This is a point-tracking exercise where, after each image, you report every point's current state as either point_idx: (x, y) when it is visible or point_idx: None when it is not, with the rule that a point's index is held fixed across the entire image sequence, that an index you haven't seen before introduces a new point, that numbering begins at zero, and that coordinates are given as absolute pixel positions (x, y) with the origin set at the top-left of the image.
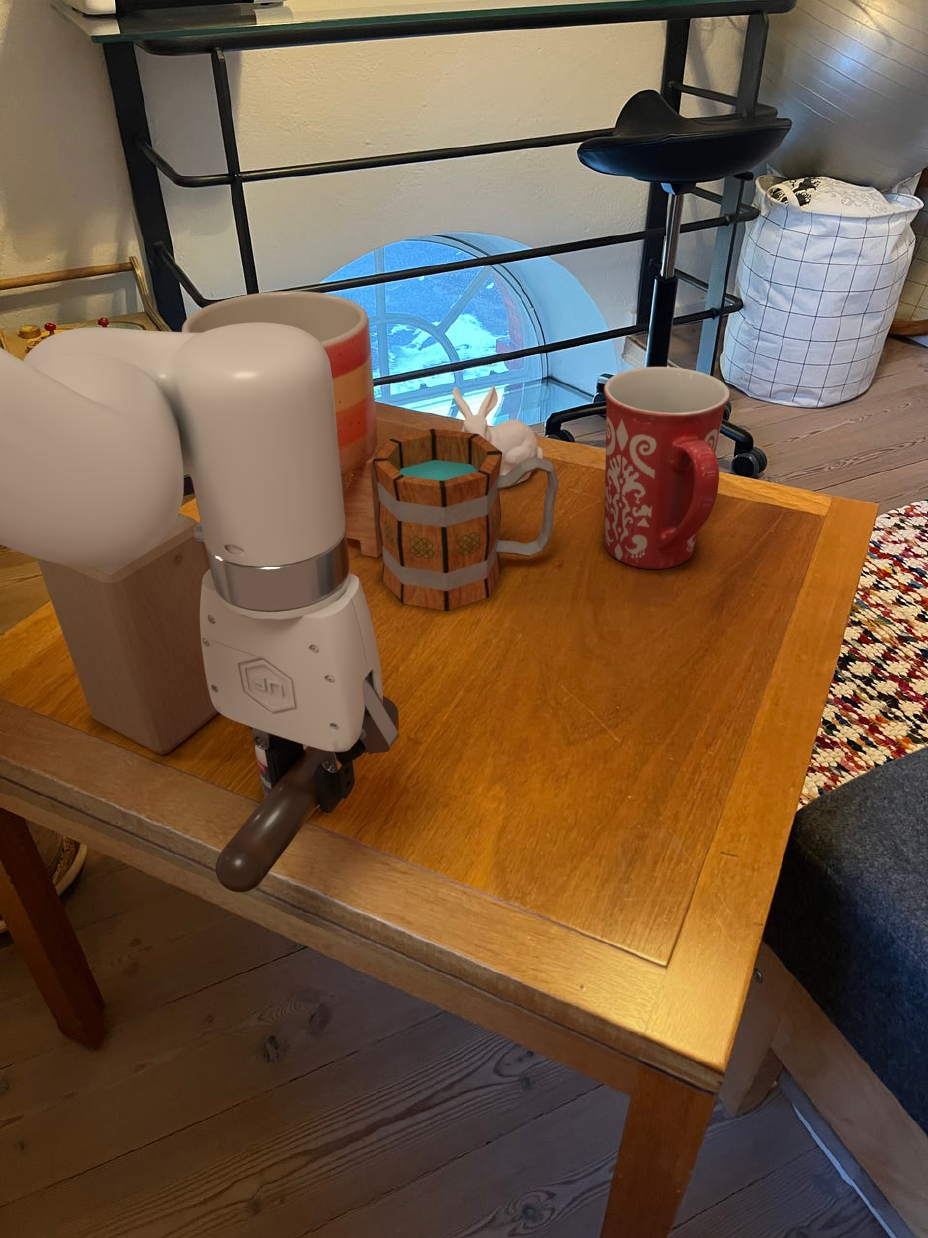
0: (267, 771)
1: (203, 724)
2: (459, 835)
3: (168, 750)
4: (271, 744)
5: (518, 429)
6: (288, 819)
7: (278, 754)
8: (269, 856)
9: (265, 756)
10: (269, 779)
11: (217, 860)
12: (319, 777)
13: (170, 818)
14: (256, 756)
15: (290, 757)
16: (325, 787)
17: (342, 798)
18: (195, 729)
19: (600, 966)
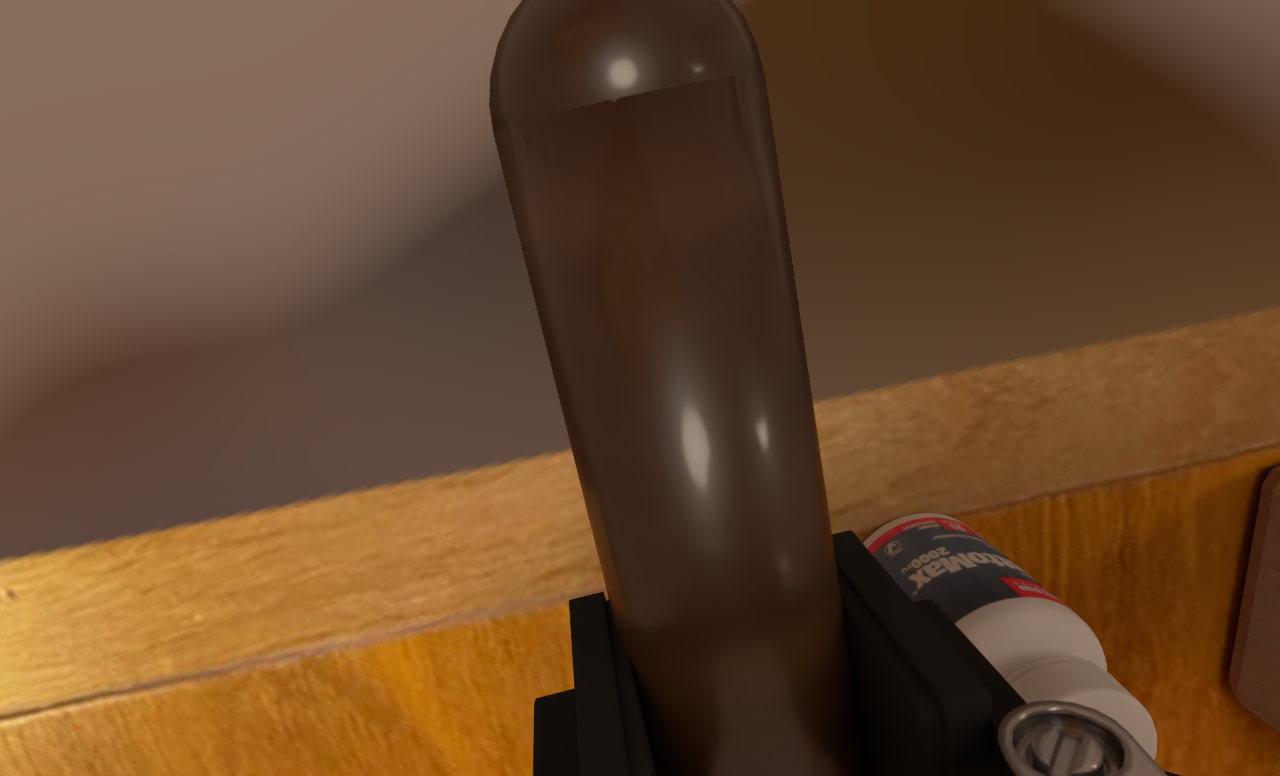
0: (1003, 587)
1: (1244, 588)
2: (516, 719)
3: (1269, 484)
4: (1001, 768)
5: None
6: (600, 455)
7: (921, 732)
8: (521, 223)
9: (1039, 621)
10: (983, 571)
11: (731, 5)
12: (605, 758)
13: (1127, 352)
14: (1063, 605)
15: (880, 732)
16: (577, 715)
17: (540, 698)
18: (1253, 567)
19: (14, 656)
